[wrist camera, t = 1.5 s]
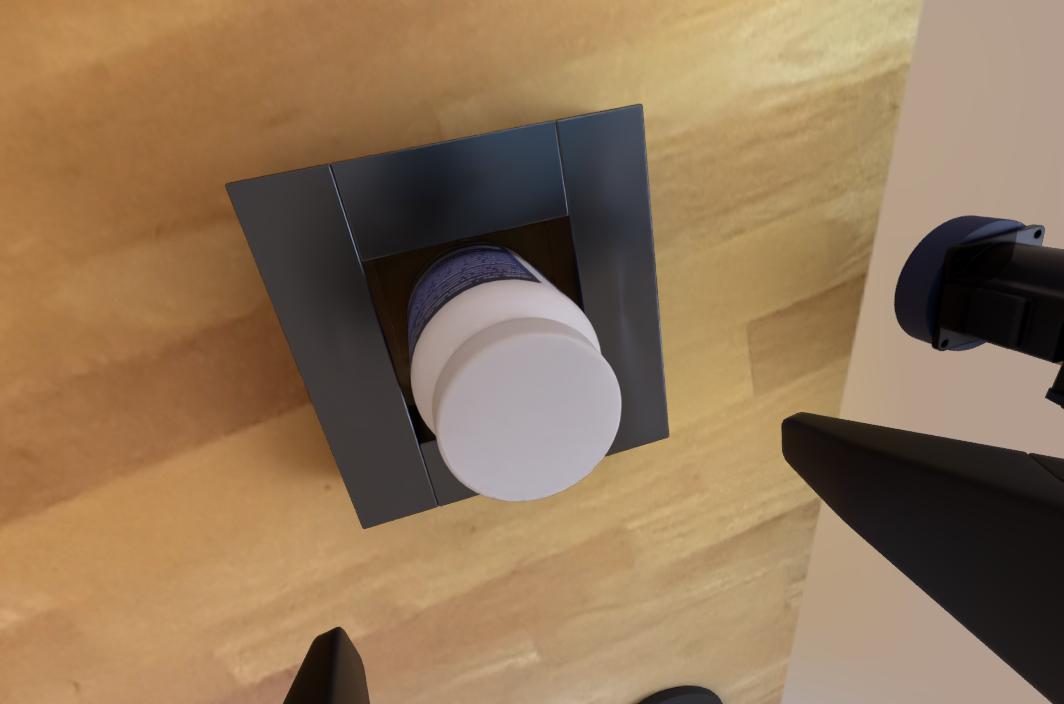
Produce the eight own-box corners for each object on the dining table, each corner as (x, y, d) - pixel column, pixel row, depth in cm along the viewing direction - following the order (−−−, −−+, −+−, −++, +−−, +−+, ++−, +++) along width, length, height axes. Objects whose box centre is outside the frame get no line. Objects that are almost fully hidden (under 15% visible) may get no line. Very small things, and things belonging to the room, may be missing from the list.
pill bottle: (387, 348, 21) (377, 496, 12) (435, 216, 20) (465, 271, 10) (512, 387, 23) (585, 538, 14) (564, 269, 22) (682, 353, 12)
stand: (604, 111, 20) (643, 103, 16) (635, 401, 25) (670, 438, 22) (255, 178, 18) (223, 183, 14) (368, 478, 23) (362, 530, 20)
